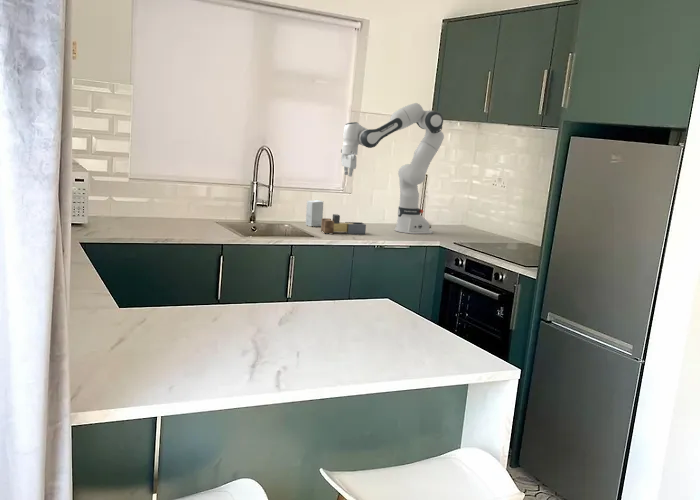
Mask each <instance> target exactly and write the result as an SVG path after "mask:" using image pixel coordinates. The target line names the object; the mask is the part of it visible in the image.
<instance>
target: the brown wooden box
mask: <svg viewBox="0 0 700 500" xmlns="http://www.w3.org/2000/svg"><path fill="white" fill-rule="evenodd" d="M322 231H323V232H324V233H333V234H334V232H333V231H334V221H332V218H325V217H323V218H322V223H321V226H320V232H322ZM323 232H322V233H323ZM324 233H323V234H324Z"/></svg>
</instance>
